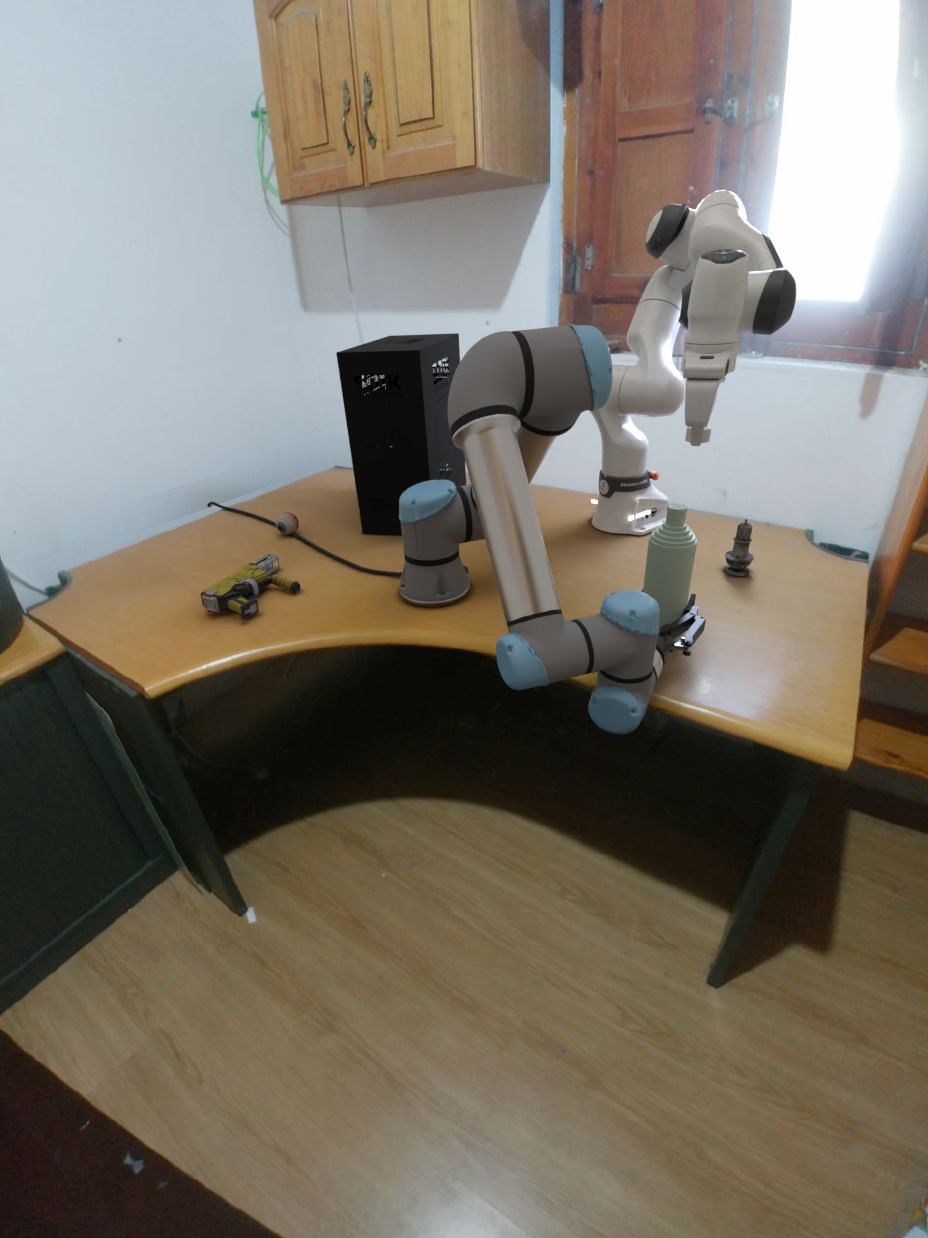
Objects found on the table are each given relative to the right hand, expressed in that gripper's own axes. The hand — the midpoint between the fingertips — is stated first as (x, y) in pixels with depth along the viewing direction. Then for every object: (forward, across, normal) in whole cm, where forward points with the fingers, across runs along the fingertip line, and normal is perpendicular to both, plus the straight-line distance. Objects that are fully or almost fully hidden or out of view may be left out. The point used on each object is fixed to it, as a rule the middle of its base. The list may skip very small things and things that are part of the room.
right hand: (697, 441), depth 110 cm
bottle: (+31, +19, -1) cm, 36 cm away
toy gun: (+31, +29, -84) cm, 94 cm away
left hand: (+25, +14, 0) cm, 29 cm away
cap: (-2, 0, 0) cm, 2 cm away
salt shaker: (+31, -13, +11) cm, 35 cm away
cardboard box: (+31, -29, -75) cm, 86 cm away
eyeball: (+31, -2, -102) cm, 106 cm away
